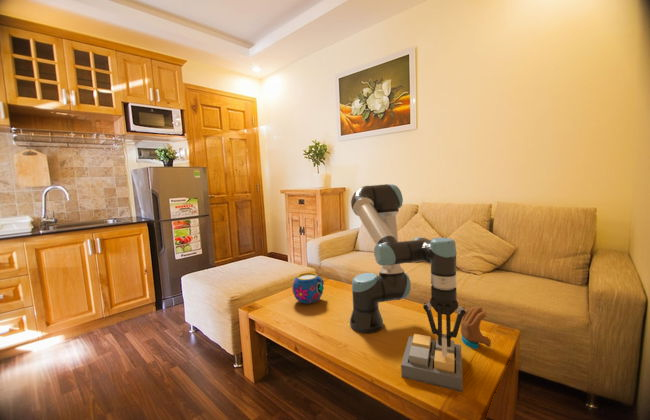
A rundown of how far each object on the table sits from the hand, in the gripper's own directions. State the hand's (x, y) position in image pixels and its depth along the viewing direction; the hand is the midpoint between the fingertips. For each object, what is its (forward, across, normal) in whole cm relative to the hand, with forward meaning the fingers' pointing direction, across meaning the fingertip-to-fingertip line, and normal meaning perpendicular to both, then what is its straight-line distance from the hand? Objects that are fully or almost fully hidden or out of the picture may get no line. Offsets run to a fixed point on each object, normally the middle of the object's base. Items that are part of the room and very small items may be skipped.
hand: (444, 354), depth 91 cm
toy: (+8, +10, +24) cm, 27 cm away
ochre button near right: (+5, 0, 0) cm, 5 cm away
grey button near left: (+5, -8, 0) cm, 10 cm away
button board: (+8, -4, +4) cm, 10 cm away
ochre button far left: (+5, -8, +8) cm, 13 cm away
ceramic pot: (+8, -72, +38) cm, 82 cm away
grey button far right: (+5, 0, +8) cm, 10 cm away
